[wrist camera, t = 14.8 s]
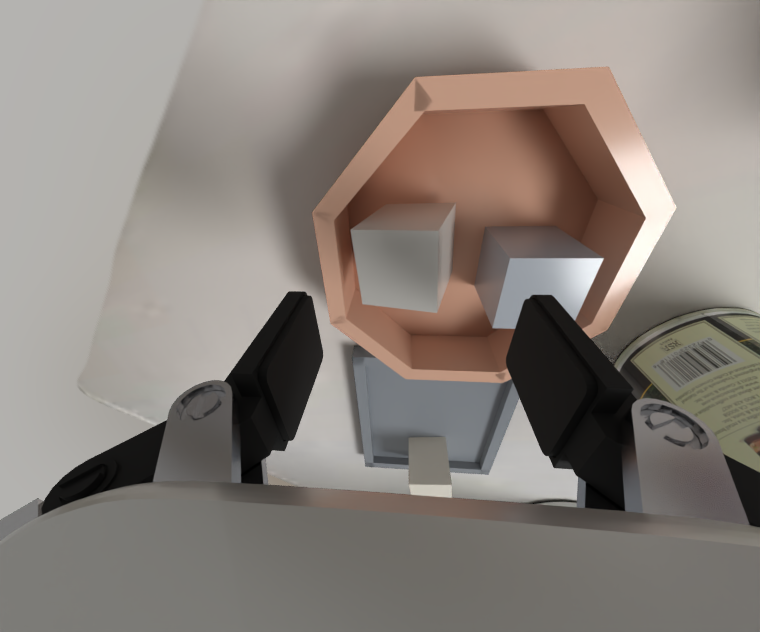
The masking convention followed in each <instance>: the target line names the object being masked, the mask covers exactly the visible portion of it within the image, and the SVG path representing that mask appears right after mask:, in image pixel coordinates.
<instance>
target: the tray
mask: <svg viewBox="0 0 760 632" xmlns="http://www.w3.org/2000/svg"><path fill="white" fill-rule="evenodd" d="M352 361H353V369H354V377H355V385H356V393H357V402H358V410H359V418H360V426H361V434H362V442H363V450H364V459H365V467H380V468H395V469H409V438H410V437H446V444H447V452H448V460H449V468H450V472H455V473H470V474H485V475H488V474H489V472H490V469H491V467H492V465H493V462H494V460H495V457H496V455H497V452H498V450H499V447H500V445H501V442H502V440H503V437H504V435H505V432H506V430H507V427H508V425H509V422H510V420H511V417H512V415H513V412H514V410H515V407H516V405H517V402H518V400H519V395H518V393H517V390H516V388H515V386H514V383H513V381H512V379H510V380H508V381H506V382H504V383H491V382H465V381H439V380H414V379H405V378H403V377H402V376H400V375H399V374H398V373H396V372H395V371H394V370H392V369H391V368H390V367H388V366H387V365H386V364H384V363H383V362H382V361H380V360H379V359H378V358H376V357H375V356H373V355H372V354H371V353H369V352H368V351H367V350H365V349H364V348H363V347H361V346H354V351H353V355H352Z"/></svg>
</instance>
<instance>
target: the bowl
mask: <svg viewBox="0 0 760 632" xmlns="http://www.w3.org/2000/svg"><path fill="white" fill-rule="evenodd" d="M454 202H456V211H455V231H454V250H453V270H452V273H451V276H450V279H449V282H448V284H447V287H446V290H445V293H444V295H443V298H442V301H441V304H440V306H439V309H438V312H437V313H433V312H425V311H416V310H408V309H399V308H391V307H382V306H374V305H365V304H362V298H361V292H360V286H359V279H358V273H357V267H356V261H355V255H354V249H353V243H352V236H351V229H352V228H354V227H355V226H356V225H358V224H359V223H361V222H362V221H363V220H365V219H366V218H368V217H369V216H370V215H372V214H373V213H375V212H376V211H377V210H379V209H380V208H381V207H383V206H384V205H386V204H413V203H454ZM675 209H676V206H675V204H674V202H673V200H672V198H671V195H670V193H669V191H668V189H667V187H666V185H665V183H664V181H663V179H662V177H661V175H660V172H659V170H658V168H657V166H656V164H655V162H654V160H653V158H652V156H651V154H650V152H649V150H648V147H647V145H646V143H645V141H644V139H643V137H642V135H641V133H640V131H639V129H638V127H637V124H636V122H635V120H634V118H633V116H632V114H631V112H630V110H629V108H628V106H627V104H626V102H625V99H624V97H623V95H622V93H621V91H620V89H619V87H618V85H617V83H616V81H615V79H614V76H613V74H612V72H611V70H610V68H609V67H594V68H575V69H556V70H537V71H518V72H499V73H481V74H462V75H443V76H424V77H415V78H414V79H413V80H412V82H411V83H410V84H409V86H408V87H407V88H406V90H405V91H404V92H403V94H402V95H401V96H400V98H399V99H398V100H397V101H396V103H395V104H394V105H393V107H392V108H391V109H390V111H389V112H388V113H387V115H386V116H385V117H384V118H383V120H382V121H381V122H380V124H379V125H378V126H377V128H376V129H375V130H374V132H373V133H372V134H371V136H370V137H369V138H368V139H367V141H366V142H365V143H364V145H363V146H362V147H361V149H360V150H359V151H358V153H357V154H356V155H355V157H354V158H353V159H352V160H351V162H350V163H349V164H348V166H347V167H346V168H345V170H344V171H343V172H342V174H341V175H340V176H339V177H338V179H337V180H336V181H335V183H334V184H333V185H332V187H331V188H330V189H329V191H328V192H327V193H326V195H325V196H324V197H323V198H322V200H321V201H320V202H319V204H318V205H317V206H316V208H315V209H314V210H313V212H312V216H313V222H314V228H315V234H316V239H317V245H318V251H319V257H320V263H321V269H322V275H323V281H324V287H325V293H326V299H327V305H328V311H329V317H330V323H331V324H332V325H333V326H334V327H336V328H337V329H338V330H340V331H341V332H342V333H344V334H345V335H346V336H348V337H349V338H351V339H352V340H353V341H355V342H356V343H357V344H359V345H360V346H361V347H363V348H364V349H365V350H367V351H368V352H369V353H371V354H372V355H373V356H375V357H376V358H378V359H379V360H380V361H382V362H383V363H384V364H386V365H387V366H388V367H390V368H391V369H392V370H394V371H395V372H396V373H398V374H399V375H400V376H402V377H403V378H405V379H414V380H439V381H465V382H491V383H504V382H506V381H508V380H510V379H512V378H511V376H510V374H509V371H508V369H507V366H506V356H507V353H508V350H509V346H510V343H511V340H512V337H513V334H514V331H515V329H504V328H492V326H491V324H490V321H489V319H488V317H487V314H486V312H485V310H484V307H483V305H482V303H481V300H480V298H479V296H478V293H477V291H476V289H475V286H474V284H475V279H476V273H477V268H478V262H479V257H480V252H481V246H482V241H483V235H484V230H485V227H491V226H556V227H558V228H559V229H561V230H562V231H564V232H565V233H567V234H568V235H570V236H571V237H573V238H574V239H576V240H577V241H579V242H580V243H582V244H583V245H585V246H586V247H588V248H589V249H591V250H592V251H594V252H595V253H597V254H598V255H600V256H601V257H603V258H604V259H603V261H602V263H601V266H600V268H599V270H598V272H597V274H596V276H595V279H594V281H593V283H592V285H591V287H590V289H589V292H588V294H587V296H586V298H585V300H584V302H583V305H582V307H581V309H580V311H579V313H578V315H577V317H576V320H575V322H576V323H577V324H578V325H579V326H580V327H581V328H582V330H583V331H584V332H585V333H586V334H587V335H588V337H589V338H590V339H591V338H593V337H595V336H597V335H599V334H601V333H603V332H605V331H607V330H608V328H609V326H610V325H611V323H612V321H613V319H614V318H615V316H616V314H617V312H618V310H619V309H620V307H621V305H622V303H623V302H624V300H625V298H626V296H627V295H628V293H629V291H630V289H631V287H632V286H633V284H634V282H635V280H636V279H637V277H638V275H639V273H640V272H641V270H642V268H643V266H644V264H645V263H646V261H647V259H648V257H649V256H650V254H651V252H652V250H653V248H654V247H655V245H656V243H657V241H658V240H659V238H660V236H661V234H662V233H663V231H664V229H665V227H666V225H667V224H668V222H669V220H670V218H671V217H672V215H673V213H674V211H675Z"/></svg>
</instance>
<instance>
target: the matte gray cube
mask: <svg viewBox="0 0 760 632" xmlns="http://www.w3.org/2000/svg"><path fill="white" fill-rule="evenodd" d="M603 259H604V258H603V257H601V256H600V255H598V254H597V253H595V252H594V251H592V250H591V249H589V248H588V247H586V246H585V245H583V244H582V243H580V242H579V241H577V240H576V239H574V238H573V237H571V236H570V235H568V234H567V233H565V232H564V231H562V230H561V229H559V228H558V227H556V226H491V227H485V230H484V235H483V241H482V246H481V252H480V257H479V262H478V268H477V273H476V279H475V284H474V286H475V289H476V291H477V293H478V296H479V298H480V300H481V303H482V305H483V307H484V310H485V312H486V314H487V317H488V319H489V321H490V324H491V326H492V328H504V329H515V328H516V324H517V321H518V318H519V315H520V312H521V309H522V306H523V303H524V301H525V299H529V298H530V297H531V295H553V296H554V297H555V298H556V300H557V301H558V302H559V303H560V304H561V305H562V307H563V308H564V309H565V310H566V311H567V312H568V313H569V315H570V316H571V317H572V318H573V319H574V320H576V317H577V315H578V313H579V311H580V309H581V307H582V305H583V302H584V300H585V298H586V296H587V294H588V292H589V289H590V287H591V285H592V283H593V281H594V279H595V276H596V274H597V272H598V270H599V268H600V266H601V263H602V261H603Z"/></svg>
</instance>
